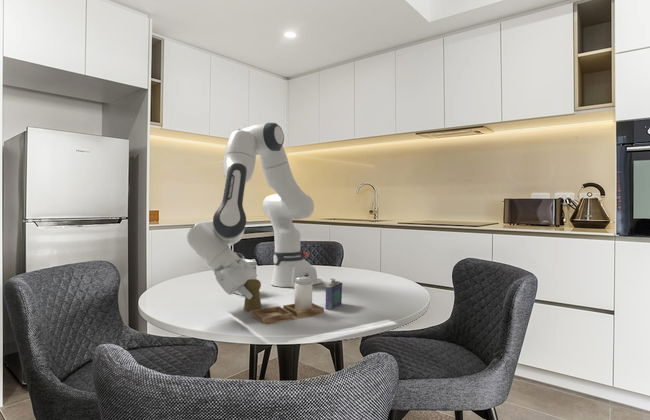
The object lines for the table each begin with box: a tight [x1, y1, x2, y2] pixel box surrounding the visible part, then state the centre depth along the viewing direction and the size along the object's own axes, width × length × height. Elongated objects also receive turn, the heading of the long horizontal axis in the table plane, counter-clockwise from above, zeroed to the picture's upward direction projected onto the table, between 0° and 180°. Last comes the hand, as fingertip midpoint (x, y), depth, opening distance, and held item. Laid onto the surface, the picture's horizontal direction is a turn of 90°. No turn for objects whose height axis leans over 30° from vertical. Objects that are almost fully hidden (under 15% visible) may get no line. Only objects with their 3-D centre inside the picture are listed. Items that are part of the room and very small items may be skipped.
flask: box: [324, 277, 343, 311], centre depth 133 cm, size 9×3×11 cm, turn 151°
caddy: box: [250, 302, 326, 325], centre depth 124 cm, size 20×11×3 cm, turn 123°
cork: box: [243, 278, 263, 313], centre depth 129 cm, size 6×6×11 cm
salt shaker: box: [294, 276, 313, 312], centre depth 126 cm, size 6×6×11 cm
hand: (254, 295), depth 129 cm, fingers closed on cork, 4 cm apart
